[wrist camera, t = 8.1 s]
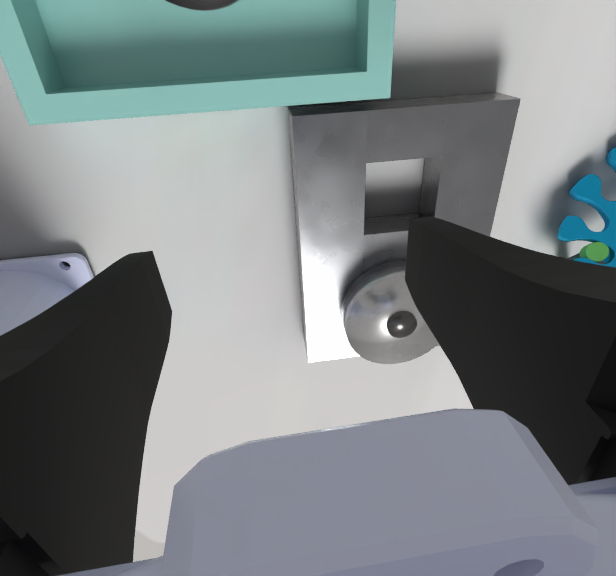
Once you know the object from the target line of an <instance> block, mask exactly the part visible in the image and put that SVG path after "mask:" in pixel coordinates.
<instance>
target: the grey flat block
mask: <svg viewBox="0 0 616 576" xmlns="http://www.w3.org/2000/svg"><path fill="white" fill-rule="evenodd" d="M519 103H520V98H516V97H512V96H509V95H505V94H501V93H497V92H495V93H482V94H469V95H456V96H442V97H429V98H416V99H403V100H390V101H377V102H364V103H351V104H338V105H325V106H312V107H298V108H288V117H289V131H290V145H291V159H292V173H293V187H294V201H295V215H296V229H297V243H298V257H299V271H300V285H301V299H302V313H303V327H304V341H305V346H306V352H307V357H308V363H309V362H317V361H325V360H332V359H340V358H348V357H356V356H361V357H363V358H364V359H366V360H369V361H371V362H375V363H381V364H396V363H402V362H406V361H410V360H412V359H415V358H417V357H420V356H422V355H423V354H425V353H427V352H428V351H430V350H431V349H433V348H434V347H435V346H440V345H439V343H438V341H437V340H436V338H435V337H434V335H433V333H432V332H431V330H430V329H429V327H428V325H427V324H426V322H425V321H424V319H423V317H422V316H421V314H420V312H419V311H418V309H417V307H416V306H415V303H414V301H413V299H412V297H411V294H410V292H409V289H408V287H407V284H406V282H405V270H406V256H407V242H408V228H409V219H414V218H422V217H435V218H439V219H442V220H445V221H448V222H451V223H454V224H457V225H459V226H462V227H465V228H468V229H470V230H473V231H476V232H478V233H481V234H484V235H486V236H489V237H490V233H491V229H492V224H493V220H494V215H495V211H496V206H497V202H498V197H499V193H500V188H501V184H502V180H503V175H504V171H505V166H506V162H507V157H508V153H509V148H510V144H511V139H512V135H513V130H514V126H515V121H516V117H517V112H518V108H519ZM417 158H425V163H424V172H423V181H422V190H421V199H420V208H419V213H412V214H402V215H392V216H382V217H372V218H364V209H365V176H366V163H372V162H384V161H395V160H406V159H417Z"/></svg>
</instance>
